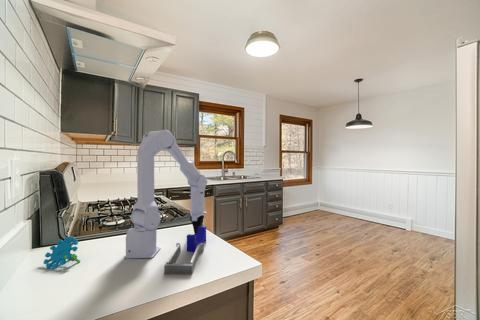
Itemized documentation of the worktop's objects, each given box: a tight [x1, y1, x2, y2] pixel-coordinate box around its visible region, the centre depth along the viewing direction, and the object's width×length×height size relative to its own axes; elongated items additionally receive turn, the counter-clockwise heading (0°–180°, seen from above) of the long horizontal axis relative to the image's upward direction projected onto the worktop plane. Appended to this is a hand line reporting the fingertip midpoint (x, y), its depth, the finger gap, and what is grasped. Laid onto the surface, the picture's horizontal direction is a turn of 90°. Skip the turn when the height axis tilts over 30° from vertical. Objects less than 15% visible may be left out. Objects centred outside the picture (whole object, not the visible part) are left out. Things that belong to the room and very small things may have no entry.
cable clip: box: [186, 225, 207, 254], centre depth 86 cm, size 12×4×6 cm, turn 168°
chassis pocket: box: [163, 242, 205, 275], centre depth 74 cm, size 10×17×3 cm, turn 1°
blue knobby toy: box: [43, 236, 81, 269], centre depth 72 cm, size 11×6×10 cm
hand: (197, 233), depth 98 cm, fingers closed
